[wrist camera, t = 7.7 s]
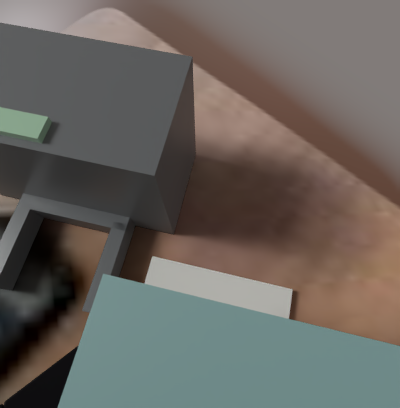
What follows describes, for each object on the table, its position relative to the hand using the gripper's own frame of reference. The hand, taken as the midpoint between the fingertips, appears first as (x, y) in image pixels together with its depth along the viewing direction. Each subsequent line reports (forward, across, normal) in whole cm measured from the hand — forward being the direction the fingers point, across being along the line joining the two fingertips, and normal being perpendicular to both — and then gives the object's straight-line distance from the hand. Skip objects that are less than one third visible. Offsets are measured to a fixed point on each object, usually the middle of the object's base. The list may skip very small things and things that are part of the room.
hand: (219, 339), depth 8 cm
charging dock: (+14, +11, +5) cm, 18 cm away
